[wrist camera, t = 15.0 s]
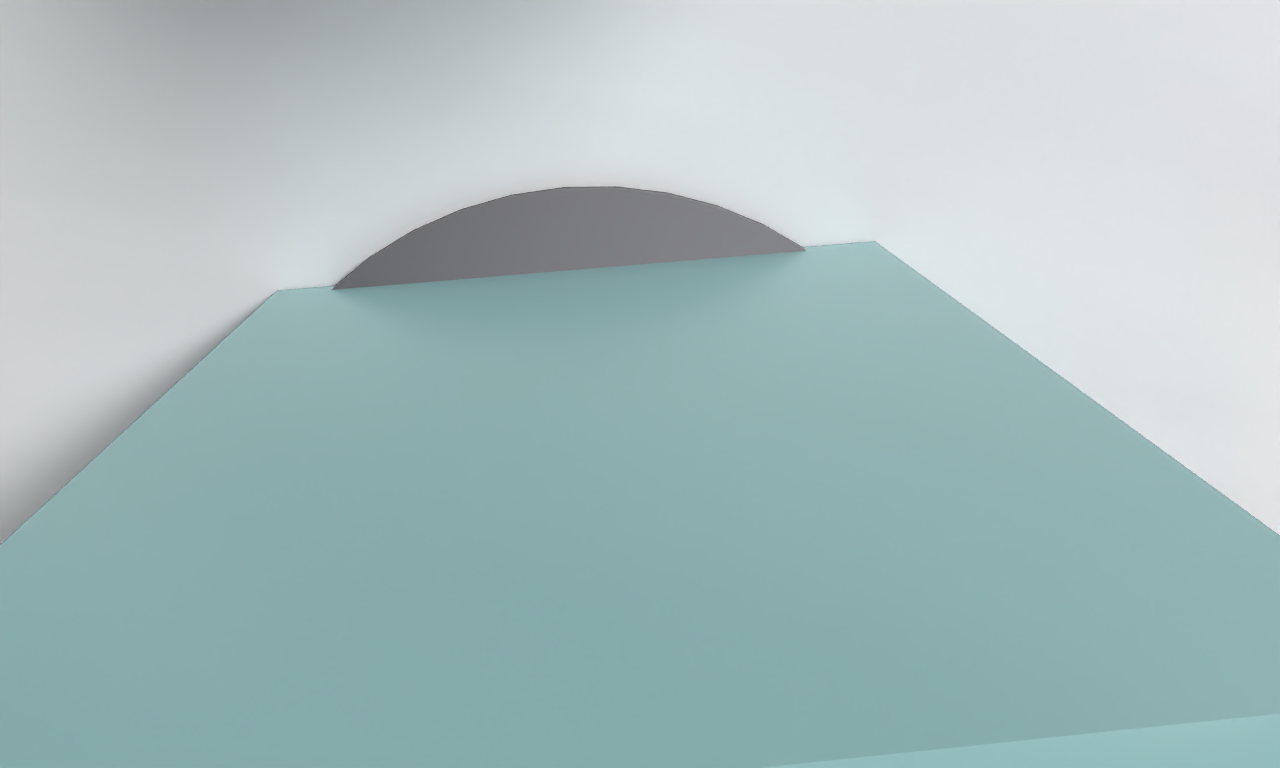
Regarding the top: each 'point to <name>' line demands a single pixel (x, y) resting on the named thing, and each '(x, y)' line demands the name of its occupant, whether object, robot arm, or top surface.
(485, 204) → the dark gray round disc
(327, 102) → the top surface
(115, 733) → the teal cuboid box
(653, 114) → the top surface
